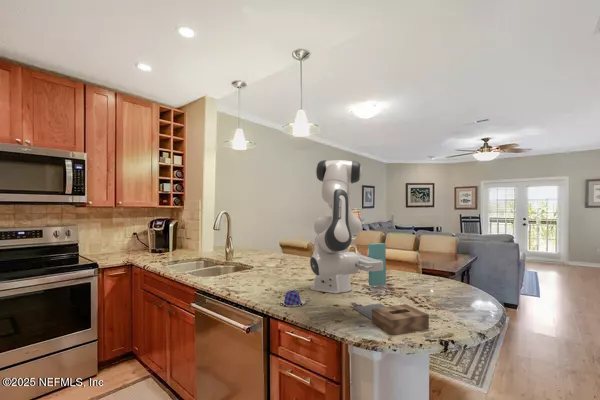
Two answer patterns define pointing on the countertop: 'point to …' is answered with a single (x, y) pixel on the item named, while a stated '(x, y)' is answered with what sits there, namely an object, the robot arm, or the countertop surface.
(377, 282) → the cover plate
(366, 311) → the mat
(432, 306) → the countertop surface
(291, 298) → the pudding
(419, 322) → the slot box
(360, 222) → the robot arm
